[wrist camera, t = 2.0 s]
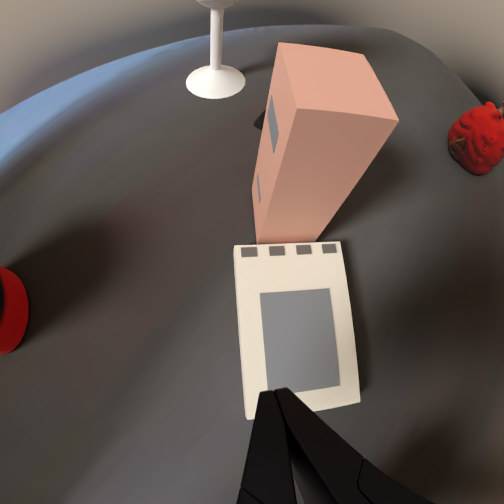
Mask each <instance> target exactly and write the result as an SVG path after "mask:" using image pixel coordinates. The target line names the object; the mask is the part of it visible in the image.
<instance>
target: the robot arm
mask: <svg viewBox="0 0 504 504" xmlns="http://www.w3.org/2000/svg"><path fill="white" fill-rule="evenodd" d="M293 476H294V478H295V481H296V483H297V486H298V488H299V490H300V493H301V495H302V498H303V500H304V502H305V504H435V503H433V502H431V501H429V500H427V499H425V498H423V497H421V496H420V495H418V494H416V493H414V492H412V491H411V490H409V489H407V488H406V487H404V486H402V485H400V484H399V483H397V482H396V481H394V480H393V479H391V478H390V477H388V476H387V475H385V474H384V473H383V472H381V471H380V470H379V469H377V468H376V467H375V466H374V465H372V464H371V463H370V462H369V461H368V460H367V459H365V458H364V459H363V456H362V455H361V454H359V453H358V452H357V451H356V450H355V449H354V448H353V447H351V446H350V445H349V444H348V443H347V442H346V441H345V440H344V439H342V438H341V437H340V436H339V435H338V434H337V433H336V432H335V431H334V430H332V429H331V428H330V427H329V426H328V425H327V424H326V423H325V422H324V421H323V420H322V419H321V418H319V417H318V416H317V415H316V414H315V413H314V412H313V411H312V410H311V409H310V408H309V407H308V406H307V405H306V404H305V403H304V402H303V401H302V400H300V399H299V398H298V397H297V396H296V395H295V394H294V393H293V392H292V391H291V390H290V389H289V388H288V387H282V388H277V389H275V390H274V391H273V390H266V391H261V392H260V393H259V397H258V402H257V407H256V412H255V418H254V423H253V428H252V433H251V438H250V443H249V448H248V453H247V458H246V462H245V467H244V472H243V477H242V481H241V486H240V487H241V488H240V490H239V494H238V499H237V503H236V504H297V500H296V493H295V486H294V480H293Z"/></svg>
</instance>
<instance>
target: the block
mask: <svg viewBox="0 0 504 504" xmlns="http://www.w3.org/2000/svg"><path fill="white" fill-rule="evenodd" d="M398 122H399V119H398V117H397V115H396V113H395V111H394V109H393V107H392V105H391V103H390V101H389V99H388V97H387V95H386V93H385V92H384V90H383V88H382V86H381V84H380V82H379V81H378V79H377V77H376V75H375V73H374V72H373V70H372V68H371V66H370V65H369V63H368V61H367V60H366V58H365V56H364V55H363V54H358V53H353V52H348V51H342V50H337V49H330V48H324V47H317V46H309V45H301V44H291V43H278V48H277V53H276V58H275V64H274V69H273V75H272V80H271V85H270V91H269V96H268V102H267V107H266V113H265V118H264V124H263V129H262V135H261V140H260V146H259V152H258V157H257V163H256V169H255V174H254V180H253V186H252V195H253V206H254V217H255V228H256V239H257V245H262V244H287V243H314V242H315V241H316V239H317V238H318V237H319V235H320V234H321V233H322V231H323V230H324V229H325V227H326V226H327V224H328V223H329V222H330V220H331V219H332V218H333V216H334V215H335V213H336V212H337V211H338V209H339V208H340V206H341V205H342V204H343V202H344V201H345V199H346V198H347V197H348V195H349V194H350V192H351V191H352V189H353V188H354V187H355V185H356V184H357V182H358V181H359V179H360V178H361V177H362V175H363V174H364V172H365V171H366V169H367V168H368V166H369V165H370V163H371V162H372V161H373V159H374V158H375V156H376V155H377V153H378V152H379V150H380V149H381V147H382V146H383V144H384V143H385V141H386V140H387V138H388V137H389V135H390V134H391V132H392V131H393V129H394V128H395V126H396V125H397V123H398Z"/></svg>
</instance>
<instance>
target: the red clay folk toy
mask: <svg viewBox="0 0 504 504" xmlns="http://www.w3.org/2000/svg"><path fill="white" fill-rule="evenodd" d="M503 112H504V101H503V106H502V107H500V108H499V109H498V110H496V107H495V106H494V104H493V103H491V102H486V103H485V105H483V106H478V107H475V108H473V109H470V110H469V111H467V112H466V113H464V114H463V115H462V116H461V117H460V118H459V119H458V120H457V121H456V122H455V123H454V124H453V125H452V126H451V128H450V130H449V134H448V150H449V152H450V154H451V155H452V157H453V158H454V159H455V160H456V161H457V162H458V163H459V164H460V166H462V167H463V168H464V169H465V170H467V171H469V172H470V173H472V174H473V175H477V174H478V175H482V174H486V173H488V172H489V171H490V170H491V169H492V167H493V166H496V165H497V164H498V163H499V162H500V161H501V159H502V158H503V157H504V119H503V117H502V114H503Z"/></svg>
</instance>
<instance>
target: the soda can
mask: <svg viewBox="0 0 504 504" xmlns="http://www.w3.org/2000/svg"><path fill="white" fill-rule="evenodd" d="M28 313H29V311H28V298H27V294H26V290H25V287H24V285H23V283H22V281H21V280H20V279H19V277H18V276H17V275H15V274H14V273H13V272H11V271H9V270H7V269H6V268H4V267H2V266H0V354H6V353H9V352H10V351H12V350H13V349H15V347H16V346H17V345H18V344H19V343H20V341H21V339H22V338H23V335H24V333H25V330H26V326H27V322H28Z"/></svg>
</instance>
